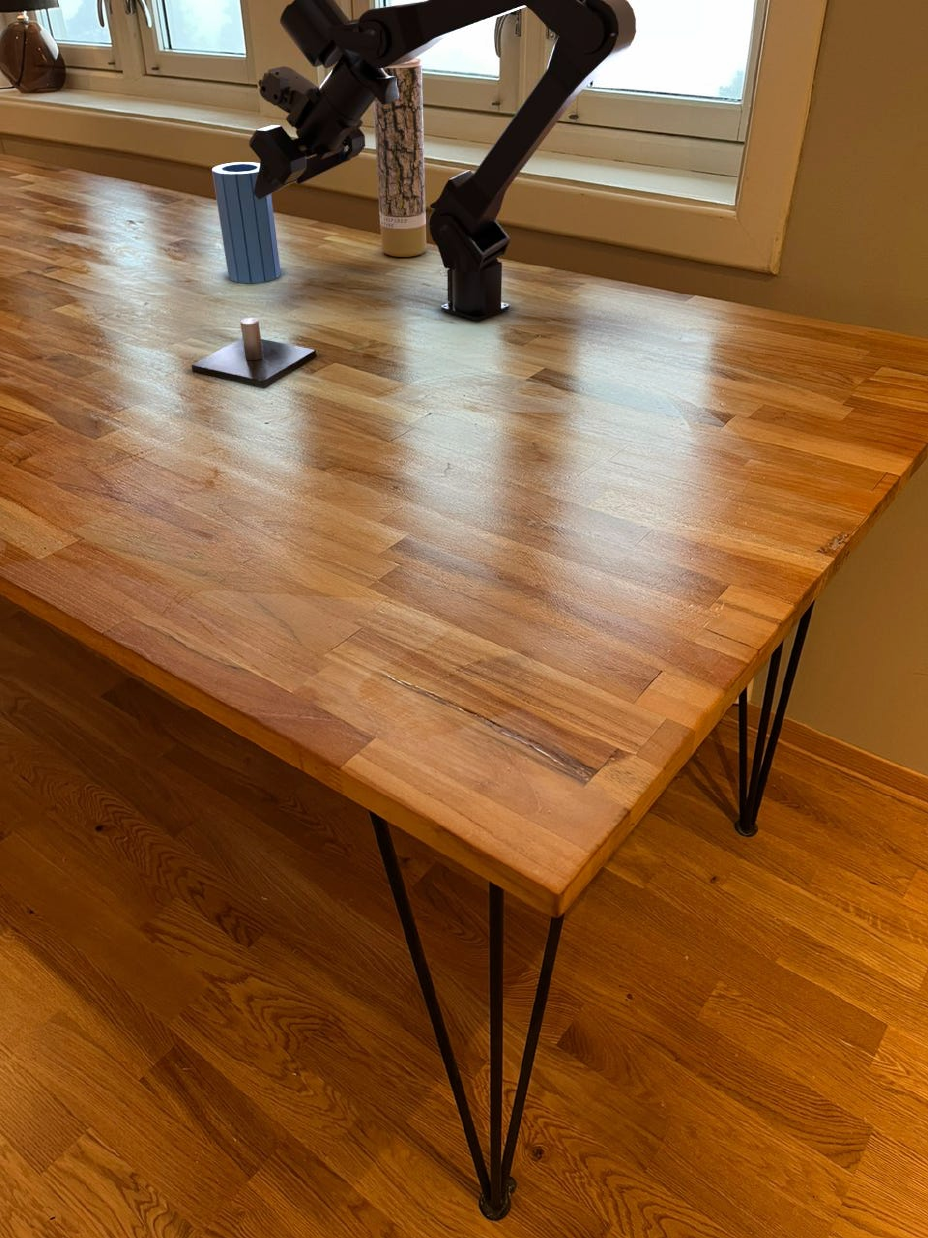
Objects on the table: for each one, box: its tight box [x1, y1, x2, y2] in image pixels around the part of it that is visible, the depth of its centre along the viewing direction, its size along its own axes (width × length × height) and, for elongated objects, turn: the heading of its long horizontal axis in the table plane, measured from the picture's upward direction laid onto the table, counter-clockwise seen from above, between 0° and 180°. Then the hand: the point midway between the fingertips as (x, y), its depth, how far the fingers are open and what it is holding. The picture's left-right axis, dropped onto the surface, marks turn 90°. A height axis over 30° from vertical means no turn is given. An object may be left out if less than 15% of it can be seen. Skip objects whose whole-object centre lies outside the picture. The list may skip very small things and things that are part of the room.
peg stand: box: [190, 317, 317, 389], centre depth 105 cm, size 10×10×5 cm
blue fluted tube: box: [211, 161, 282, 284], centre depth 128 cm, size 7×7×14 cm
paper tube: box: [372, 57, 427, 258], centre depth 133 cm, size 7×7×25 cm
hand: (277, 188), depth 123 cm, fingers open, 9 cm apart
